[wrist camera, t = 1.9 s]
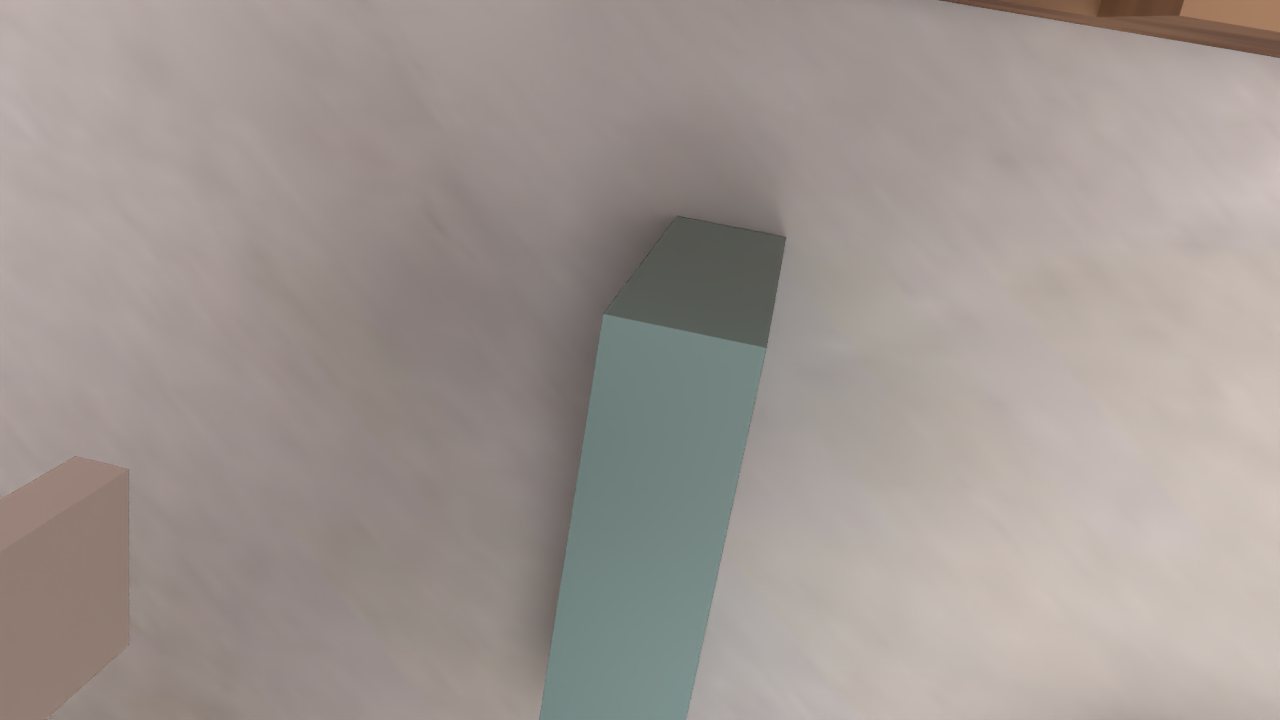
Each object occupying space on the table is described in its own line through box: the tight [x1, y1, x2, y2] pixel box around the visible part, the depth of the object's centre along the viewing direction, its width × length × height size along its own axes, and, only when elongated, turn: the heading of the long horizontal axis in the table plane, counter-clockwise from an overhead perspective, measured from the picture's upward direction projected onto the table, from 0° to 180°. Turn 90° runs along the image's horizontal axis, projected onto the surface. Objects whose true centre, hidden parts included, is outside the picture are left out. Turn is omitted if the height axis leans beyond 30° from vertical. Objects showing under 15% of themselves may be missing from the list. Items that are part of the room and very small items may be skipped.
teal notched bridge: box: [539, 216, 786, 720], centre depth 26 cm, size 16×3×10 cm, turn 171°
